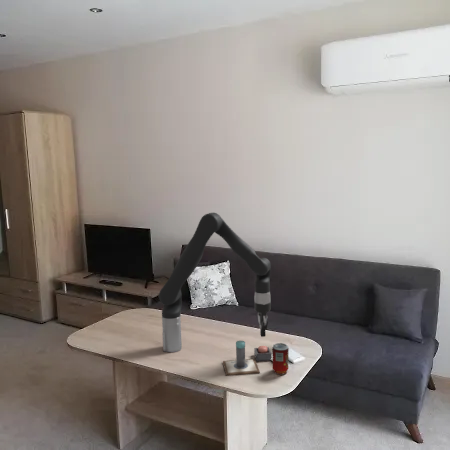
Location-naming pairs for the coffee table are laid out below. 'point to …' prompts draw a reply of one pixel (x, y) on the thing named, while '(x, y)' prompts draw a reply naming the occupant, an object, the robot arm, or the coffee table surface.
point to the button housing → (262, 355)
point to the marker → (240, 354)
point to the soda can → (280, 358)
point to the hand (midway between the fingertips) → (262, 336)
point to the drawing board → (248, 369)
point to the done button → (262, 349)
